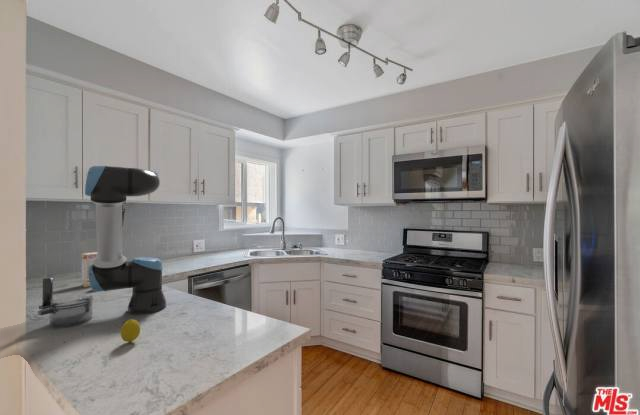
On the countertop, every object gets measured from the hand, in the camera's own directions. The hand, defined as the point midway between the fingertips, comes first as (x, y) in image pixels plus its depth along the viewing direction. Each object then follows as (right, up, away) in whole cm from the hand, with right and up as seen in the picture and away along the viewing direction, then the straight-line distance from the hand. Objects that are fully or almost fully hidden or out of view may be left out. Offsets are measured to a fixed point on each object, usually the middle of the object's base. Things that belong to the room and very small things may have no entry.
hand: (117, 239), depth 154 cm
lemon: (+45, -29, -57) cm, 78 cm away
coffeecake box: (-27, -30, +22) cm, 46 cm away
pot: (+8, -29, -39) cm, 49 cm away
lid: (+8, -21, -40) cm, 45 cm away
